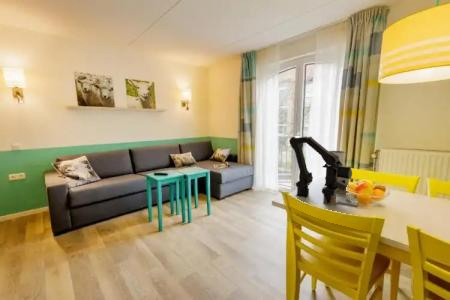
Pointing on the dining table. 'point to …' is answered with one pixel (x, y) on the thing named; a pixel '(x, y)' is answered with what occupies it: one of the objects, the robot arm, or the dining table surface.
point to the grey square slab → (347, 200)
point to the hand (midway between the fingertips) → (329, 200)
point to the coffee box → (339, 188)
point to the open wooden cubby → (331, 200)
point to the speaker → (340, 155)
